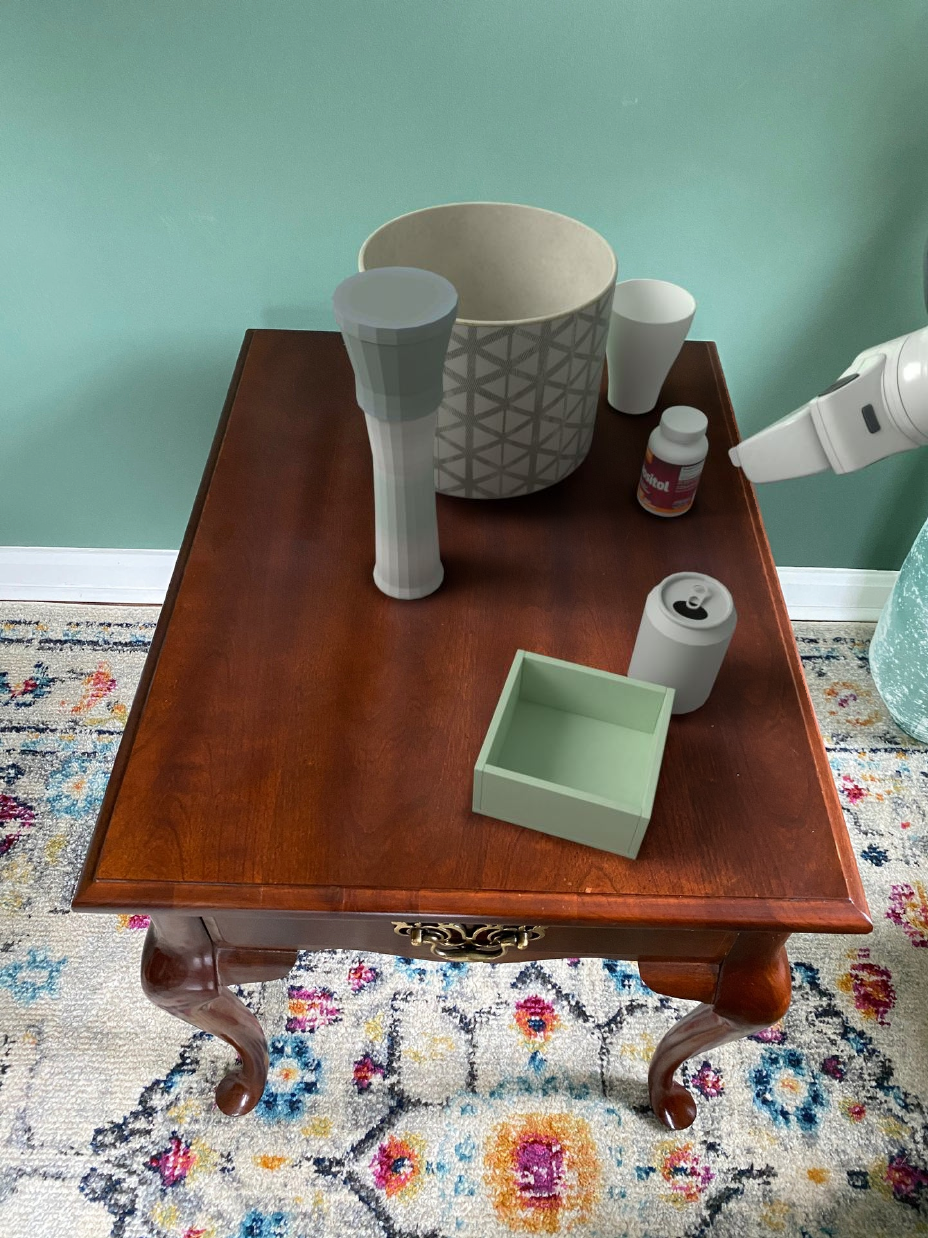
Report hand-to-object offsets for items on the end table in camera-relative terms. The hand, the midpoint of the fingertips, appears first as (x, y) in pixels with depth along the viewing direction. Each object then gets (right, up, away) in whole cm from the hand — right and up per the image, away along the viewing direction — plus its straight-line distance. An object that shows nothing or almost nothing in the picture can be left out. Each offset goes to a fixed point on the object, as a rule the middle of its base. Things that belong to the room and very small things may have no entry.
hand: (767, 436), depth 81 cm
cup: (-7, +10, +27) cm, 30 cm away
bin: (-20, -30, -9) cm, 37 cm away
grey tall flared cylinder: (-34, -13, +6) cm, 37 cm away
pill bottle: (-6, -4, +15) cm, 17 cm away
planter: (-27, +2, +20) cm, 33 cm away
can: (-10, -24, -3) cm, 26 cm away
